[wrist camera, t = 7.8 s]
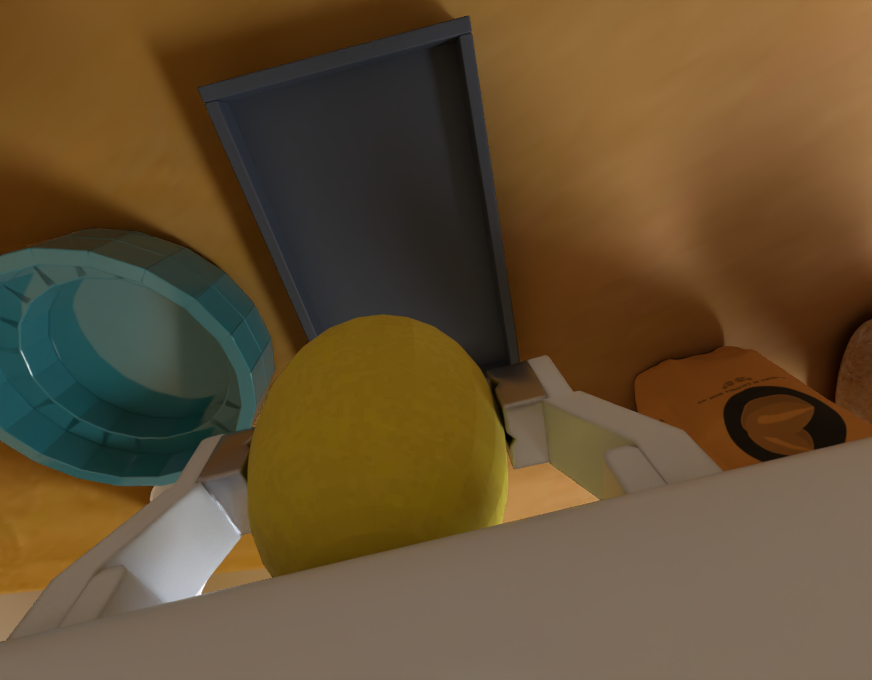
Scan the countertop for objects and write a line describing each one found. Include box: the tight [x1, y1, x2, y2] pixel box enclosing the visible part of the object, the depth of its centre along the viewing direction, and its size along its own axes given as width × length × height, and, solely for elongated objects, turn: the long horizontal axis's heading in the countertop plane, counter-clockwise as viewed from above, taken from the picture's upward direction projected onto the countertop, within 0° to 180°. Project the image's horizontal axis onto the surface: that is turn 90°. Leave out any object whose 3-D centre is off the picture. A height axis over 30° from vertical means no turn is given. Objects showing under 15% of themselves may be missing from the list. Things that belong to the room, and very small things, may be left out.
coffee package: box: [634, 346, 872, 471], centre depth 22 cm, size 10×12×22 cm
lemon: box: [247, 314, 508, 578], centre depth 9 cm, size 6×6×8 cm
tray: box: [198, 16, 520, 385], centre depth 22 cm, size 19×12×2 cm, turn 12°
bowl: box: [0, 228, 275, 486], centre depth 23 cm, size 15×15×4 cm
